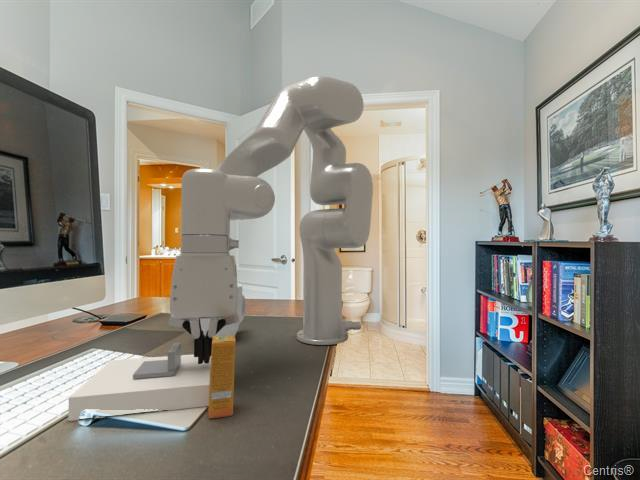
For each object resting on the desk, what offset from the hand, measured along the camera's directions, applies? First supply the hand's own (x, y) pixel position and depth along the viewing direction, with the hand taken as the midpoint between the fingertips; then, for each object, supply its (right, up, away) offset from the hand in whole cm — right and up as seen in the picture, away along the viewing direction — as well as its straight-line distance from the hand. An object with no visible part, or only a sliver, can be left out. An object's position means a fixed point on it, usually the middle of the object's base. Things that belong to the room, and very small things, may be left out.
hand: (204, 360), depth 52 cm
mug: (-5, -5, +26) cm, 27 cm away
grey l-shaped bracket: (-7, -1, -2) cm, 7 cm away
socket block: (-7, -4, -2) cm, 8 cm away
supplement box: (+5, -4, -8) cm, 10 cm away
